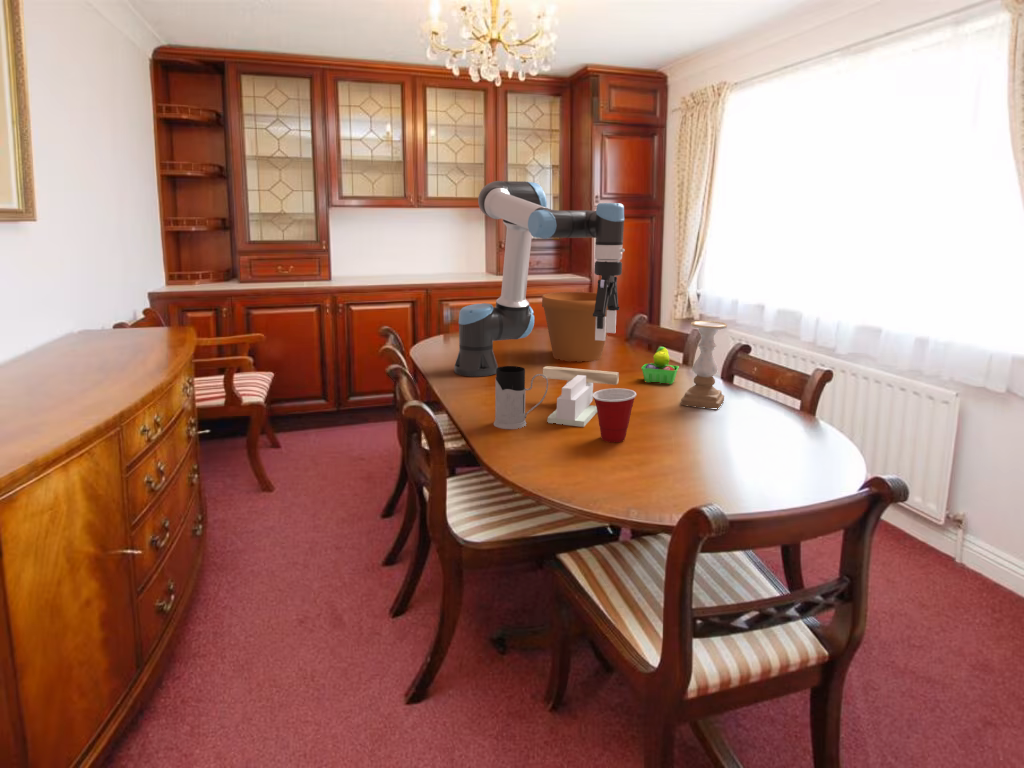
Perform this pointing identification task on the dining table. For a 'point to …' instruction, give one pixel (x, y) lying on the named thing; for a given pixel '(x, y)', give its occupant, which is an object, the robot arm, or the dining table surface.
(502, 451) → the dining table surface
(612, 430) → the plastic cup
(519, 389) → the glass holder
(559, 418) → the ridge stand
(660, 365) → the fruit basket
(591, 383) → the rest block
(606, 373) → the birch batten
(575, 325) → the flowerpot
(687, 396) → the candle holder
